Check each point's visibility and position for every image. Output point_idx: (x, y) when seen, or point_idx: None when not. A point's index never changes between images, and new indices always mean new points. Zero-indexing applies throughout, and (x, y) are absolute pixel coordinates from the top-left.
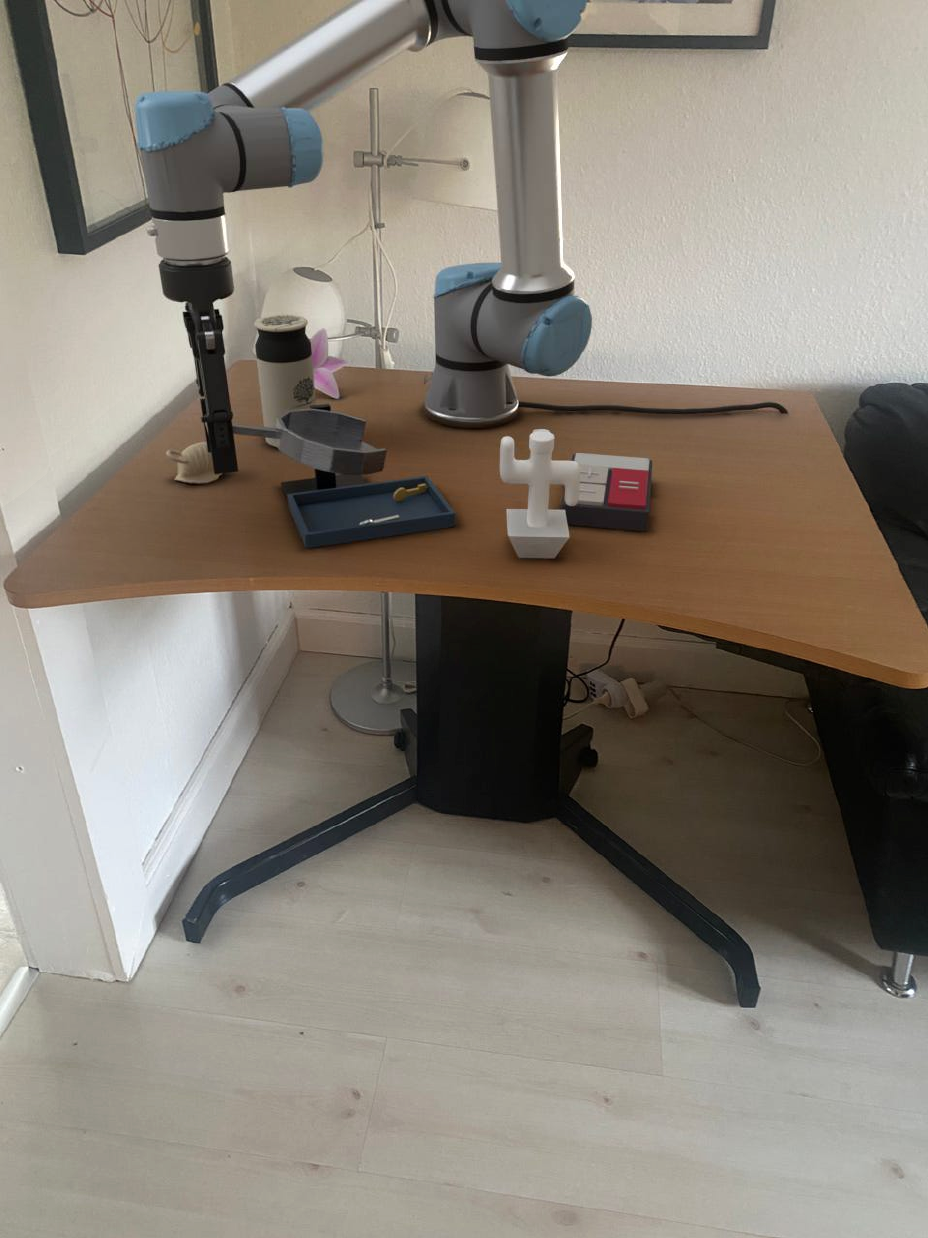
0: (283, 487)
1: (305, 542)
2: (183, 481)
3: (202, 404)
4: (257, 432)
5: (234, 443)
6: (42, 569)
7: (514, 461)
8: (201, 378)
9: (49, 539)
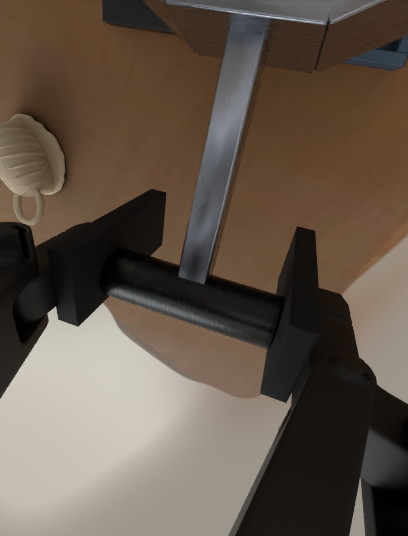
0: (128, 25)
1: (394, 68)
2: (60, 189)
3: (86, 314)
4: (241, 147)
5: (317, 271)
6: (220, 376)
7: None
8: (1, 382)
9: (160, 351)
